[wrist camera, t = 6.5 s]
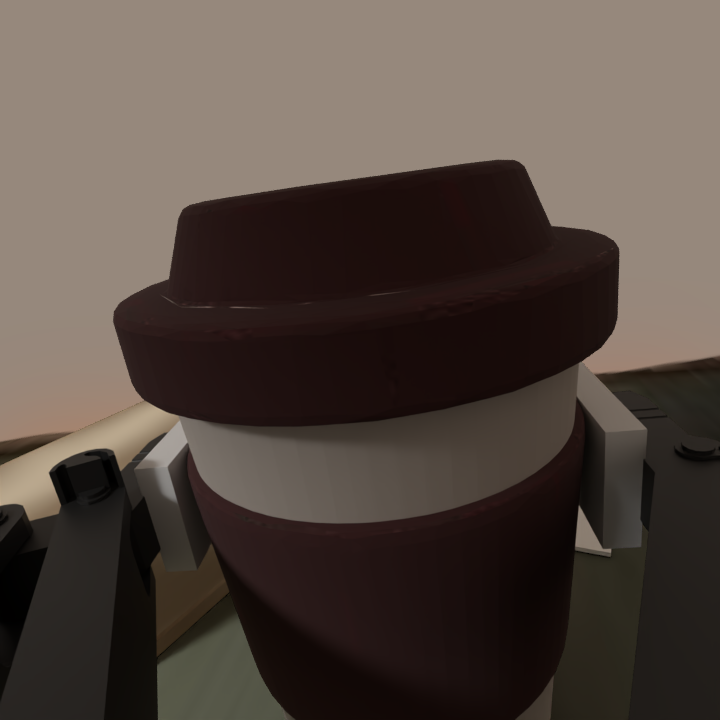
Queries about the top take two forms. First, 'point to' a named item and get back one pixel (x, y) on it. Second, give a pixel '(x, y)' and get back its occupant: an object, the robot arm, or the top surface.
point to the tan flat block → (126, 438)
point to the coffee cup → (385, 430)
